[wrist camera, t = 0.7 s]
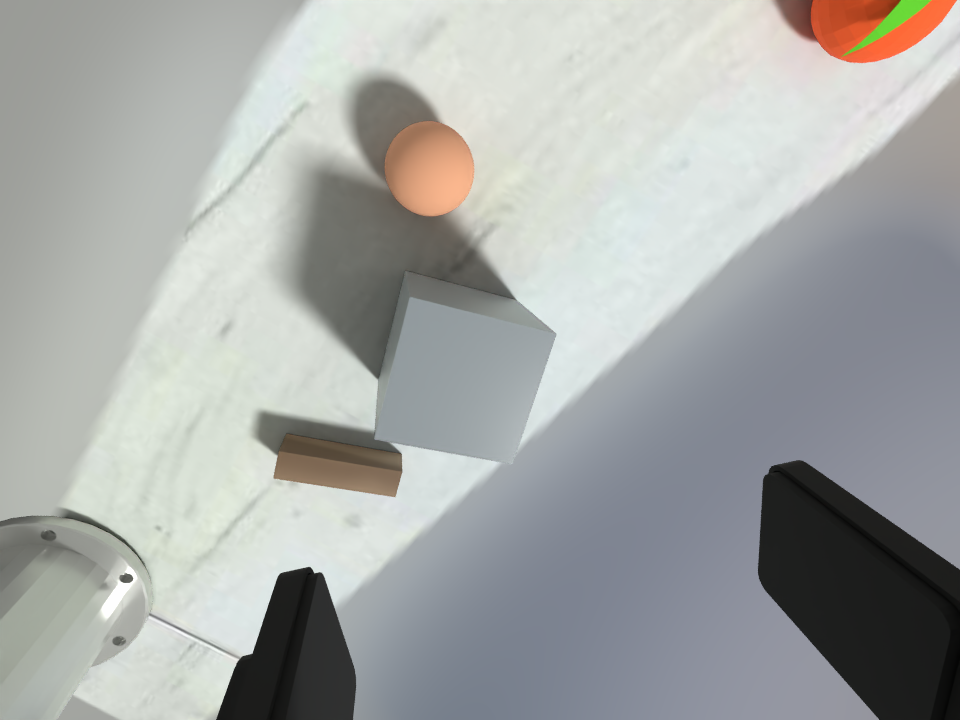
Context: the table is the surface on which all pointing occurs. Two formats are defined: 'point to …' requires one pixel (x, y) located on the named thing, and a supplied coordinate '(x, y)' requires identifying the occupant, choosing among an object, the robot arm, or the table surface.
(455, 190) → the ball
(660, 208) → the table surface
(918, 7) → the clementine
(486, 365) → the matte grey cube
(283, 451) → the strip
